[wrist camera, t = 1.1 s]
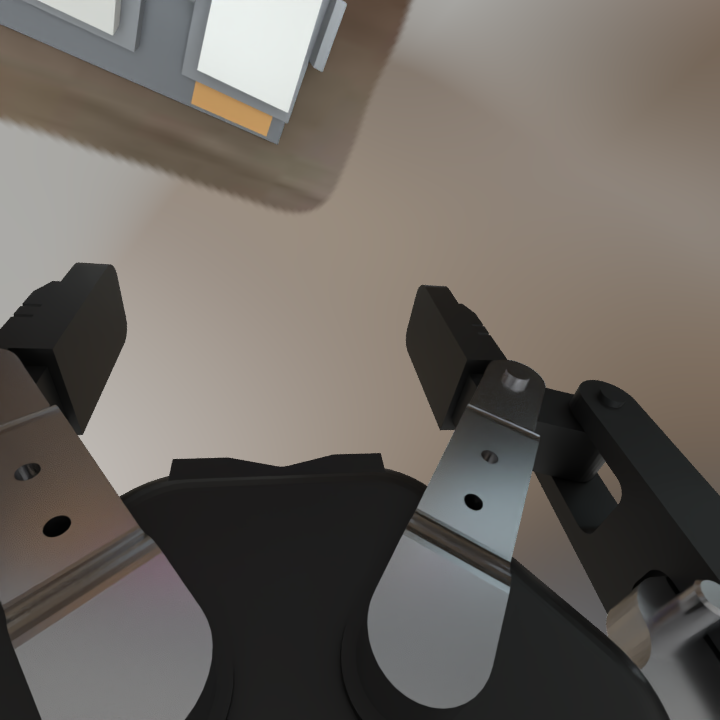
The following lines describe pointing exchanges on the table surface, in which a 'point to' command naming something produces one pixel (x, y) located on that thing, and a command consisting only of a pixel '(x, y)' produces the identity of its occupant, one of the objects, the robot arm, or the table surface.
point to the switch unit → (168, 53)
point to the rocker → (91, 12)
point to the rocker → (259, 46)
